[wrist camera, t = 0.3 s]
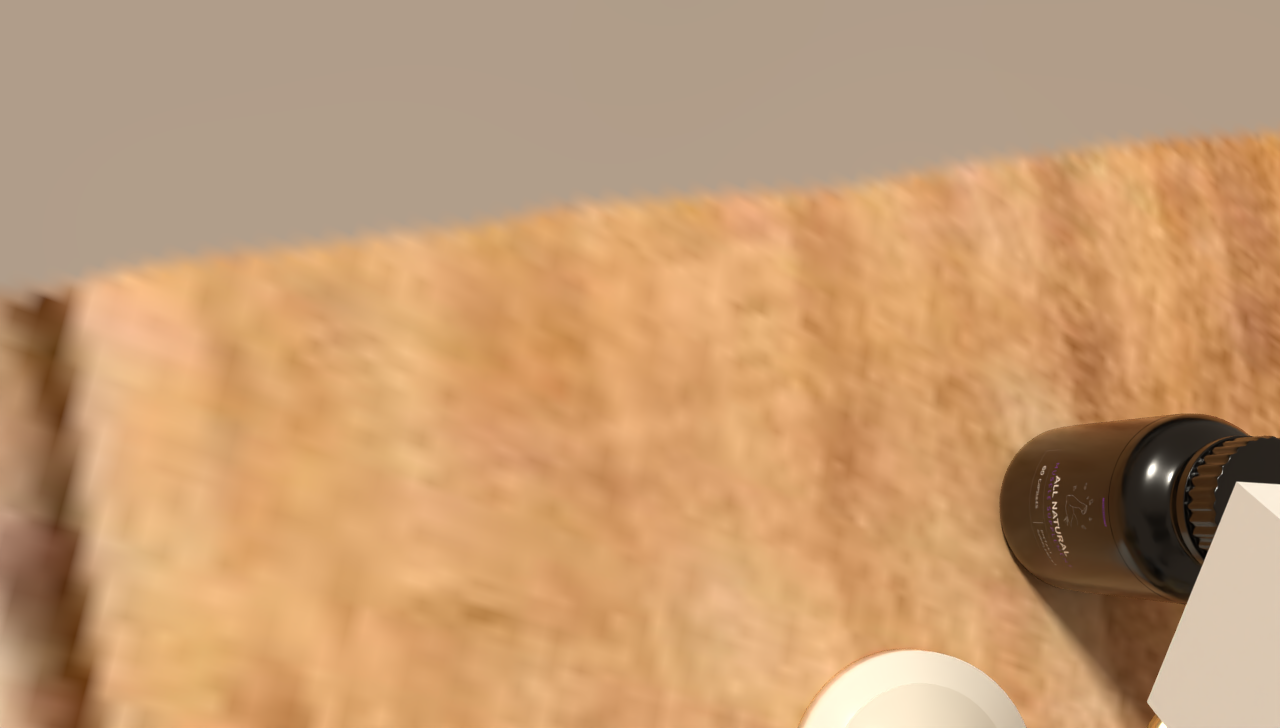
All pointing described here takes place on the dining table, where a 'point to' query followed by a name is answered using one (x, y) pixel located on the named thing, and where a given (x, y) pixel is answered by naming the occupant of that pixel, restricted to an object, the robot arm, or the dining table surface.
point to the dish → (911, 695)
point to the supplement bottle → (1128, 501)
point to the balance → (1156, 723)
